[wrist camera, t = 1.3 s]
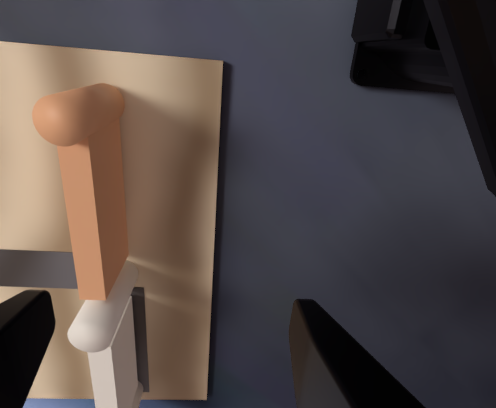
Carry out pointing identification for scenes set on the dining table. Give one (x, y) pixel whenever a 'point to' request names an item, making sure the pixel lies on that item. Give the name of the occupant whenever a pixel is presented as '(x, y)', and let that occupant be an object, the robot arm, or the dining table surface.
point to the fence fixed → (110, 343)
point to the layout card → (136, 202)
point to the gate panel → (90, 179)
